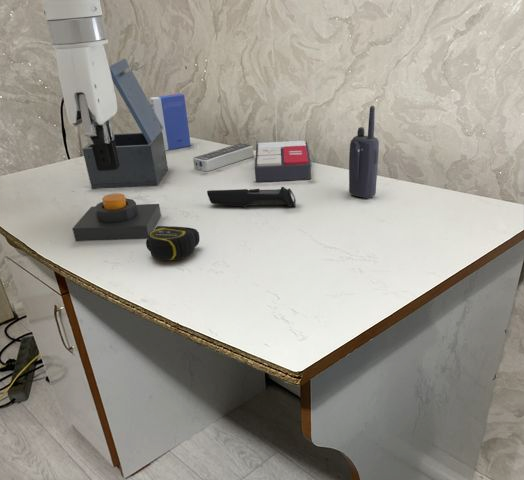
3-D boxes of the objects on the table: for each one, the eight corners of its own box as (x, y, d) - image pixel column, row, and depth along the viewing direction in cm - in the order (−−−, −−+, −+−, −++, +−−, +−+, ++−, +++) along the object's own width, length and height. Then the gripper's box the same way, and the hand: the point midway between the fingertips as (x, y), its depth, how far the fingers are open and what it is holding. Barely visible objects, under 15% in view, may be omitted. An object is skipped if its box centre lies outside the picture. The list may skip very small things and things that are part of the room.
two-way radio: (379, 196, 95) (386, 105, 87) (363, 202, 93) (367, 110, 85) (356, 189, 99) (360, 101, 90) (339, 195, 97) (342, 106, 88)
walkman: (187, 143, 135) (180, 91, 128) (190, 146, 133) (184, 93, 126) (157, 149, 132) (148, 96, 125) (160, 151, 130) (151, 97, 123)
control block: (75, 241, 86) (69, 217, 84) (94, 218, 94) (88, 196, 92) (148, 238, 85) (144, 214, 83) (161, 215, 93) (157, 193, 91)
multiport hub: (254, 155, 122) (253, 145, 121) (206, 171, 114) (205, 160, 112) (241, 153, 125) (240, 142, 123) (193, 168, 116) (192, 157, 115)
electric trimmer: (211, 203, 98) (209, 186, 96) (296, 201, 96) (295, 183, 94) (207, 210, 95) (204, 193, 93) (294, 208, 93) (293, 190, 91)
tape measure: (203, 247, 81) (200, 224, 79) (185, 267, 76) (181, 242, 74) (162, 244, 83) (158, 221, 81) (141, 263, 78) (137, 239, 75)
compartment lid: (105, 68, 96) (128, 54, 95) (121, 60, 106) (143, 47, 104) (148, 143, 103) (170, 132, 102) (160, 129, 113) (180, 119, 111)
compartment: (91, 188, 109) (82, 148, 104) (107, 171, 118) (99, 134, 114) (157, 185, 108) (150, 145, 103) (168, 168, 117) (162, 131, 113)
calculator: (254, 163, 104) (256, 140, 115) (255, 185, 106) (257, 160, 118) (311, 160, 103) (307, 137, 115) (311, 182, 106) (307, 157, 118)
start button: (101, 211, 86) (99, 201, 85) (107, 204, 89) (105, 193, 88) (123, 210, 86) (121, 200, 85) (129, 203, 89) (127, 192, 88)
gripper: (70, 31, 80) (99, 157, 90) (30, 40, 68) (69, 185, 78) (119, 28, 80) (143, 154, 90) (88, 36, 67) (120, 182, 78)
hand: (109, 168), depth 84 cm, fingers closed
